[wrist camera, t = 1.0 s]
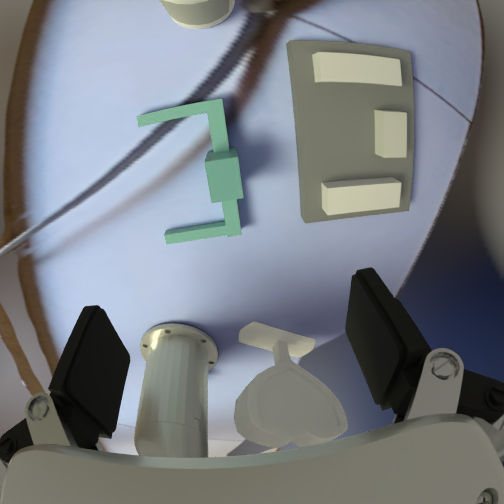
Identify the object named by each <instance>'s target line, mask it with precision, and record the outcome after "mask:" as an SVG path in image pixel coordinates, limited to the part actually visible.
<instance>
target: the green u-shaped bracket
mask: <svg viewBox="0 0 504 504" xmlns="http://www.w3.org/2000/svg"><path fill="white" fill-rule="evenodd" d="M202 113H207V114H208V120H209V127H210V133H211V140H212V146H213V151H211V152H208V153H207V156H206V159H205V168H206V173H207V179H208V185H209V190H210V196H211V201H212V203H215V202H221V201H222V207H223V213H224V219H225V221H224V222H217V223H211V224H204V225H198V226H191V227H185V228H179V229H173V230H167V231H166V232H165V235H164V236H165V240H166V243H167V244H172V243H179V242H185V241H192V240H198V239H205V238H211V237H218V236H225V235H227V236H228V237H229V236H236V235H242V233H241V226H240V219H239V212H238V205H237V199H242V198H243V191H242V183H241V176H240V168H239V161H238V155H237V150H236V148H231V149H229V143H228V136H227V129H226V122H225V115H224V107H223V100H222V99H216V100H210V101H204V102H198V103H193V104H188V105H183V106H178V107H173V108H169V109H164V110H160V111H156V112H151V113H148V114H144V115H140V116H137V121H138V126H139V127H141V126H145V125H149V124H154V123H158V122H162V121H167V120H171V119H176V118H181V117H186V116H191V115H196V114H202Z"/></svg>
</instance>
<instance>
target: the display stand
mask: <svg viewBox="0 0 504 504" xmlns="http://www.w3.org/2000/svg"><path fill="white" fill-rule="evenodd" d="M286 46H287V54H288V62H289V70H290V79H291V88H292V97H293V108H294V118H295V130H296V142H297V155H298V170H299V186H300V205H301V217H302V219H303V221H304V222H305V223H313V222H320V221H328V220H336V219H344V218H352V217H360V216H368V215H377V214H385V213H394V212H403V211H409V206H410V197H411V187H412V174H413V157H414V91H413V75H412V63H411V53H410V51H406V50H401V49H395V48H389V47H383V46H376V45H368V44H359V43H349V42H335V41H311V40H290V41H289V42H288V43H287V44H286Z"/></svg>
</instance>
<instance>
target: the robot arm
mask: <svg viewBox="0 0 504 504" xmlns="http://www.w3.org/2000/svg"><path fill="white" fill-rule="evenodd" d="M346 334H347V336H348V339H349V341H350V343H351V345H352V348H353V350H354V353H355V355H356V358H357V360H358V362H359V365H360V367H361V369H362V372H363V374H364V377H365V379H366V382H367V384H368V387H369V389H370V391H371V394H372V397H373V399H374V401H375V403H376V404H377V405H378V404H380V406H381V408H382V410H385V409H389V408H392V409H393V411H394V413H395V414H396V415H395V418H394V420H393V423H392V425H388V426H385V427H382V428H378V429H375V430H372V431H368V432H365V433H361V434H358V435H354V436H350V437H347V438H343V439H338V440H334V441H330V442H326V443H321V444H317V445H312V446H307V447H302V448H297V449H290V450H284V451H277V452H270V453H262V454H253V455H244V456H230V457H210V458H208V371H209V370H210V369H211V368H213V366H214V365H215V364H216V362H217V359H218V349H217V346H216V344H215V342H214V340H213V339H212V338H211V337H210V336H209V335H207V334H206V333H205V332H203V331H201V330H199V329H197V328H194V327H192V326H189V325H184V324H175V323H171V324H162V325H158V326H155V327H153V328H151V329H149V330H148V331H147V332H146V333H145V334H144V335H143V337H142V340H141V344H140V351H141V354H142V356H143V358H144V359H145V360H146V361H147V363H146V368H145V373H144V378H143V384H142V390H141V395H140V401H139V407H138V414H137V421H136V427H135V435H134V442H135V447H136V450H137V452H138V454H139V456H137V455H126V454H118V453H110V452H104V451H103V449H102V448H101V446H100V444H99V442H98V438H99V437H102V438H110V439H111V438H112V432H114V431H115V430H116V426H117V420H118V415H119V410H120V405H121V400H122V395H123V390H124V386H125V381H126V377H127V373H128V368H129V364H130V355H129V353H128V351H127V349H126V348H125V346H124V344H123V343H122V341H121V339H120V338H119V336H118V334H117V332H116V331H115V329H114V327H113V325H112V323H111V322H110V320H109V318H108V316H107V314H106V312H105V311H104V309H101V308H100V307H99V306H98V305H94V306H85V307H84V308H83V310H82V312H81V314H80V316H79V318H78V320H77V322H76V324H75V326H74V328H73V331H72V333H71V335H70V337H69V339H68V342H67V344H66V346H65V348H64V351H63V353H62V355H61V358H60V360H59V362H58V365H57V367H56V370H55V372H54V375H53V378H52V380H51V383H50V385H49V388H48V389H49V390H50V391H51V393H50V396H49V395H48V394H47V393H37V394H35V395H34V396H32V397H31V398H30V400H29V401H28V403H27V405H26V409H25V416H26V418H25V419H24V420H22V421H21V422H20V423H18V424H17V425H15V426H14V427H13V428H11V429H10V430H8V431H7V432H6V433H5V434H3V435H2V436H1V438H0V504H504V383H502V382H500V381H498V380H495V379H492V378H489V377H485V376H483V375H480V374H477V373H474V372H471V371H468V370H465V369H464V368H463V362H462V360H461V359H460V357H459V356H458V355H457V354H456V353H455V352H454V351H451V350H449V349H444V348H440V349H435V350H433V351H432V350H431V348H430V347H429V345H428V344H427V342H426V340H425V339H424V337H423V336H422V334H421V332H420V331H419V329H418V328H417V326H416V325H415V323H414V322H413V320H412V319H411V317H410V316H409V314H408V313H407V311H406V310H405V308H404V307H403V305H402V304H401V302H400V301H399V300H398V299H396V298H394V297H393V295H392V294H391V292H390V291H389V290H388V288H387V287H386V285H385V284H384V282H383V281H382V280H381V278H380V277H379V275H378V274H377V273H376V271H375V270H374V269H373V268H365V269H360V270H357V272H356V274H355V275H353V276H352V280H351V289H350V297H349V305H348V312H347V319H346Z"/></svg>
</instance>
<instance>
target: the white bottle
mask: <svg viewBox="0 0 504 504" xmlns="http://www.w3.org/2000/svg"><path fill="white" fill-rule="evenodd" d="M159 1H160V2H161V3H162V5H163V6H164V7H165V9H166V10H167V12H168V13H169V15H170V16H171V17H172V19H173V20H174V21H175V22H176V23H178V24H179V25H181V26H183V27H186V28H189V29H205V28H210V27H213V26H215V25H217V24H219V23H221V22H223V21H224V20H225V19H226V18H227V17H229V15H230V14H231V12H232V10H233V9H234V4H235V0H159Z"/></svg>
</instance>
